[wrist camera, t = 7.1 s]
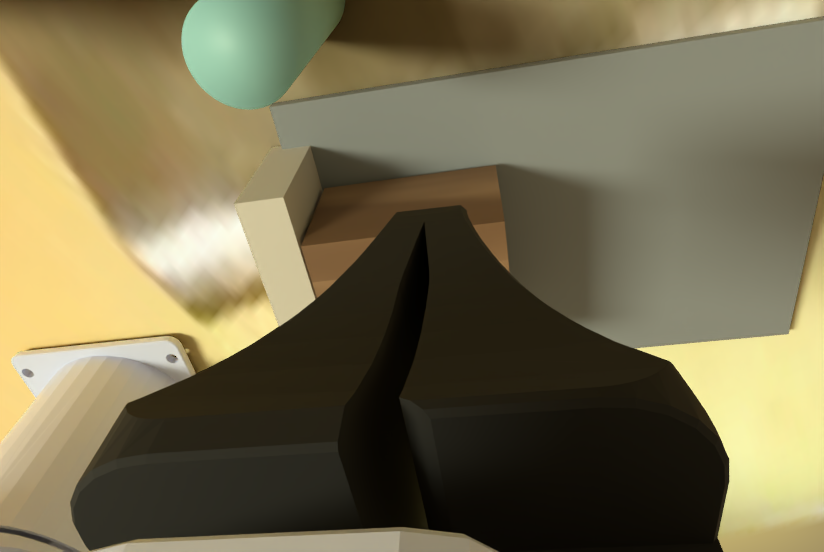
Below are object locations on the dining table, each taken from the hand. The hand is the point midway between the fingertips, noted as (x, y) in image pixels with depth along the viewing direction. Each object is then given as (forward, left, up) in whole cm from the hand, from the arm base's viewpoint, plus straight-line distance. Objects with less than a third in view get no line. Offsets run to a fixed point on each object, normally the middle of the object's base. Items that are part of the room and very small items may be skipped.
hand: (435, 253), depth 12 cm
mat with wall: (-5, -3, -10) cm, 12 cm away
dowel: (+4, +4, -10) cm, 11 cm away
